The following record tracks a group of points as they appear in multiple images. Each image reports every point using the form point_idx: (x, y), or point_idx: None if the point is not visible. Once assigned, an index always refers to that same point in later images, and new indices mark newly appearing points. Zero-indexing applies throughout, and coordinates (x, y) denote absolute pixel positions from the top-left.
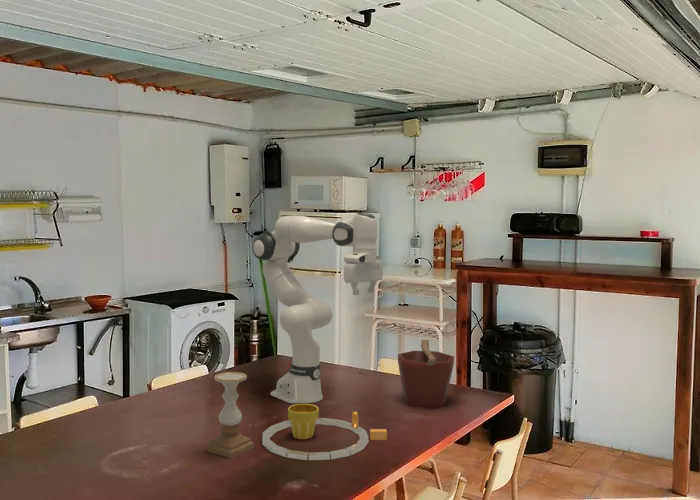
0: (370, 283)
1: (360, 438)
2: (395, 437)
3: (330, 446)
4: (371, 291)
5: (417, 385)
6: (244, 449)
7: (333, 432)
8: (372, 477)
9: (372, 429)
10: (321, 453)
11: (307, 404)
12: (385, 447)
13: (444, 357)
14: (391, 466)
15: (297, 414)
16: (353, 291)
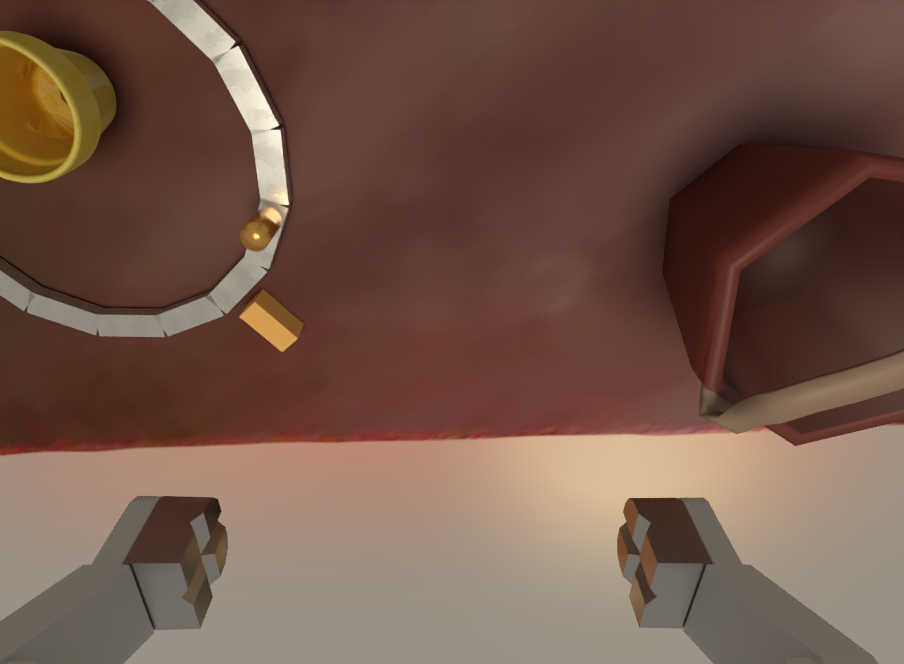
0: (804, 644)
1: (197, 301)
2: (329, 342)
3: (105, 237)
4: (621, 566)
5: (681, 284)
6: None
7: (202, 160)
8: (68, 434)
9: (259, 309)
10: (5, 285)
11: (57, 84)
12: (241, 362)
13: None
14: (155, 433)
15: None
16: (110, 547)
